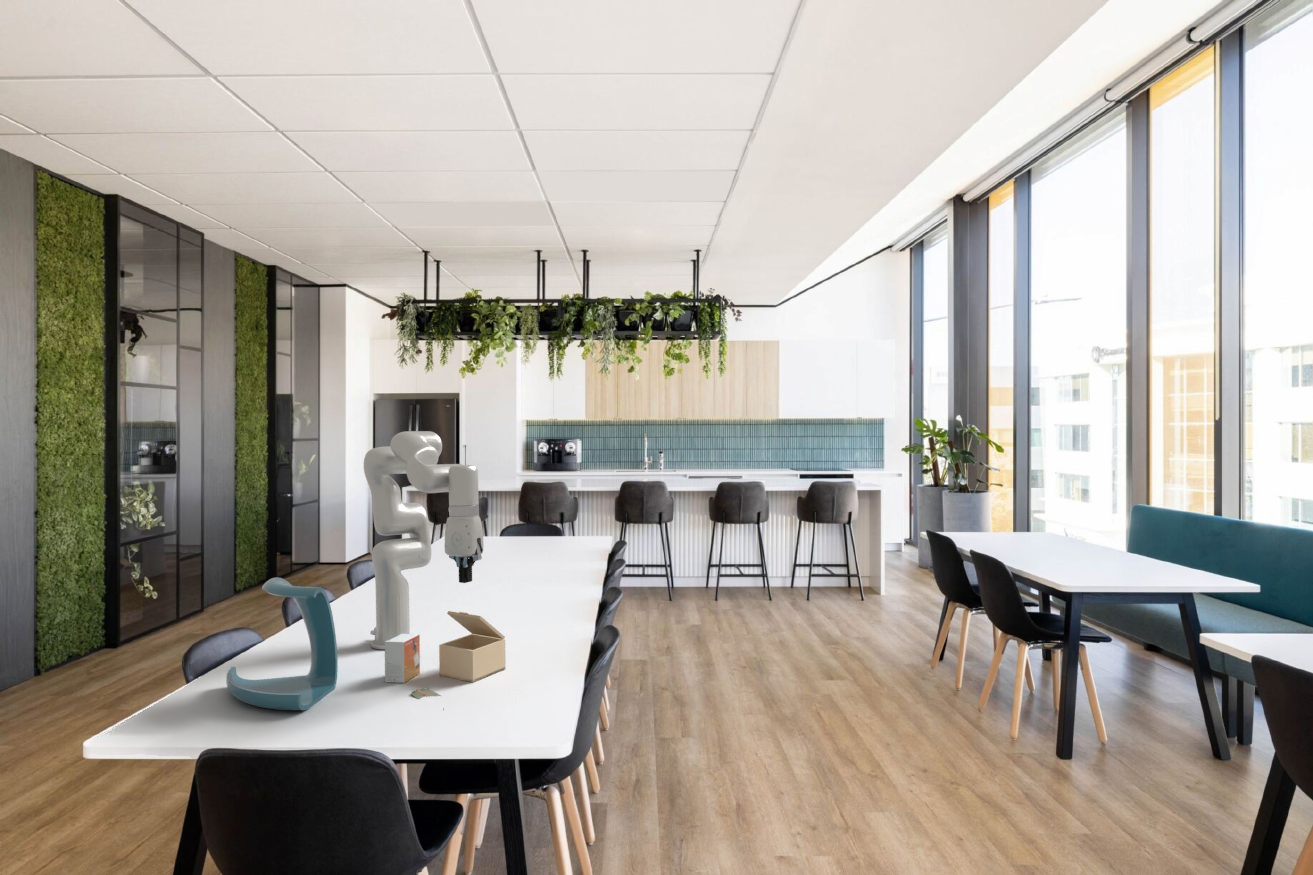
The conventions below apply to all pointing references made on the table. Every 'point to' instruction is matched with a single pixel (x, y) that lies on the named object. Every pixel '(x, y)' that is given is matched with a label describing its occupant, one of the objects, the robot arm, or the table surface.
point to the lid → (476, 624)
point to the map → (424, 693)
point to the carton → (472, 657)
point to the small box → (402, 658)
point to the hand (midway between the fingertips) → (465, 581)
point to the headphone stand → (323, 656)
